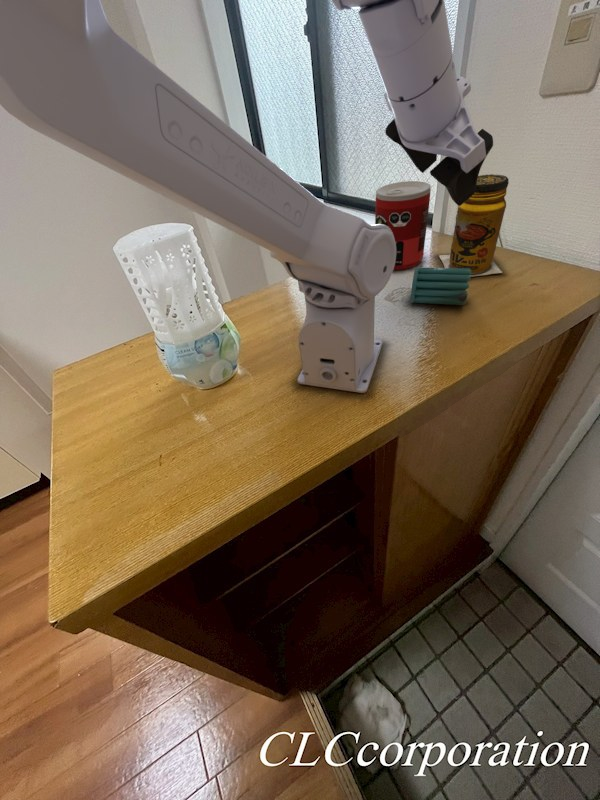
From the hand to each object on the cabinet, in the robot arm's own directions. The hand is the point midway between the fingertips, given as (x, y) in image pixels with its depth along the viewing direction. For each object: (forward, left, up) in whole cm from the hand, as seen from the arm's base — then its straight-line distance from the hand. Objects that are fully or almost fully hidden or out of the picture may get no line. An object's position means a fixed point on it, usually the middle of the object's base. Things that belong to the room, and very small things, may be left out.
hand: (445, 181), depth 41 cm
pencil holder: (-4, -1, -14) cm, 14 cm away
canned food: (+9, +6, -14) cm, 17 cm away
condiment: (+8, -5, -14) cm, 17 cm away
